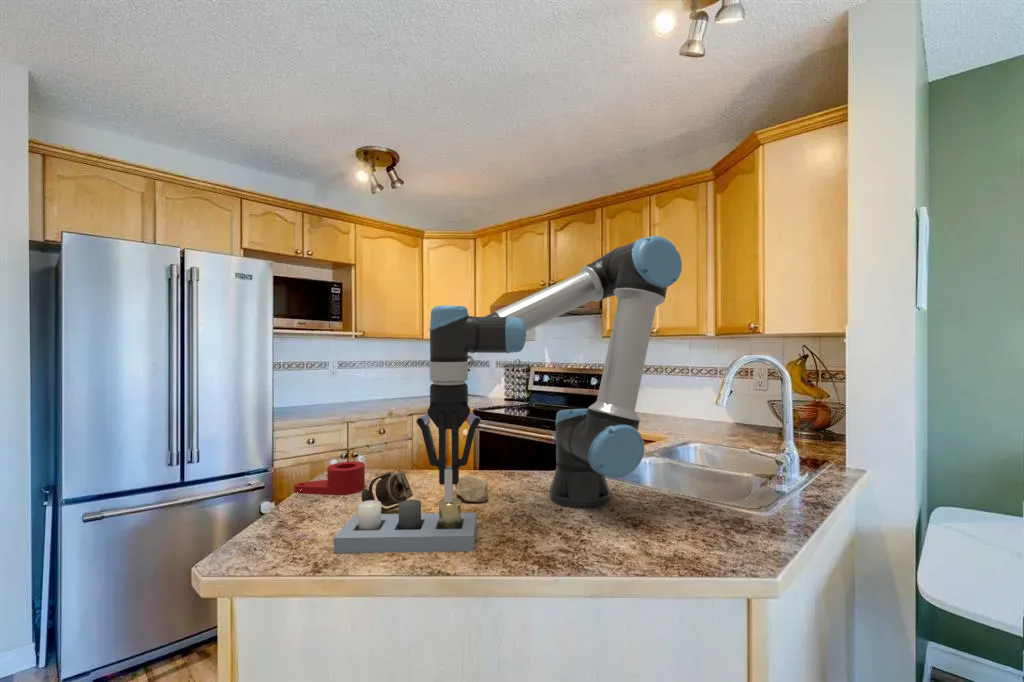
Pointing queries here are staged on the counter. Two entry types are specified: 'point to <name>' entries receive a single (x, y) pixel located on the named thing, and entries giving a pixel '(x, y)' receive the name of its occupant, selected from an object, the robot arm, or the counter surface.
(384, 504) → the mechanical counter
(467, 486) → the stone
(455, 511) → the gold cylinder
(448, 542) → the grey slotted holder
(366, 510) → the white rounded cylinder
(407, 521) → the dark gray cylinder
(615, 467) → the robot arm
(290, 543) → the counter surface
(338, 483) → the lever
